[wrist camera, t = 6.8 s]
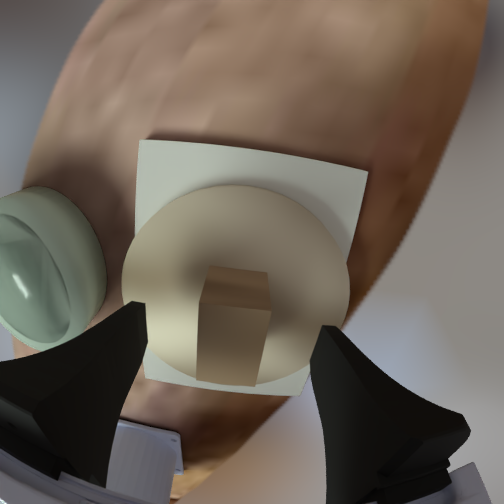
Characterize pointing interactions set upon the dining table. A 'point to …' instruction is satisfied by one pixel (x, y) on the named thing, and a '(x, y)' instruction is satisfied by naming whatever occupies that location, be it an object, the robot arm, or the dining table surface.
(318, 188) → the mat
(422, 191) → the dining table surface
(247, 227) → the lid
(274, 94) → the dining table surface
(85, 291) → the bowl
